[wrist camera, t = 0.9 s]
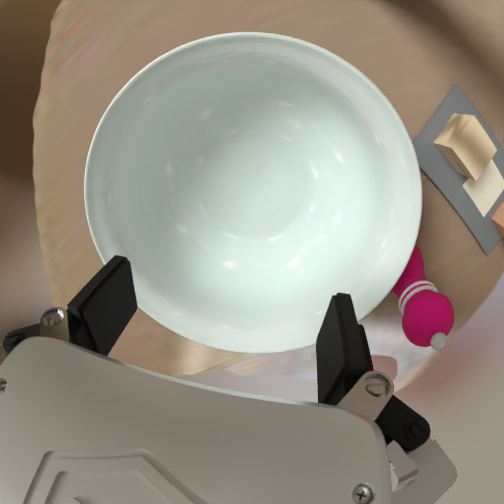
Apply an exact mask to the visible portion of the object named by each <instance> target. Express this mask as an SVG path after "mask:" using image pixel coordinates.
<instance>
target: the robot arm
mask: <svg viewBox="0 0 504 504" xmlns="http://www.w3.org/2000/svg"><path fill="white" fill-rule="evenodd" d="M67 306H68V309H67V310H65V309H64V308H62V307H52V308H50V309H48V310H46V311H45V312H44V313H43V314H42V316H41V318H40V323H39V324H35V325H31V326H28V327H25V328H21V329H18V330H14V331H12V332H10V333H9V334H8V335H7V336H6V337H5V339H4V341H3V345H1V344H0V504H434V503H435V502H436V501H437V500H438V499H439V498H440V497H441V496H442V495H443V494H444V493H445V492H446V491H447V490H448V489H449V488H450V487H451V486H452V485H453V484H454V482H455V481H456V478H457V470H456V468H455V466H454V465H453V463H452V462H451V460H450V459H449V458H448V456H447V455H446V454H445V452H444V451H443V450H442V448H441V447H440V445H439V444H438V443H437V441H436V440H435V439H434V440H433V441H432V440H431V438H430V437H429V436H430V426H429V424H428V422H427V421H426V420H425V419H424V418H423V417H421V416H420V415H419V414H418V413H416V412H415V411H414V410H412V409H411V408H410V407H408V406H407V405H406V404H405V403H403V402H402V401H401V400H399V399H398V398H397V397H395V396H394V395H393V392H394V385H393V382H392V380H391V379H390V377H388V376H387V375H386V374H384V373H382V372H380V371H374V369H373V364H372V360H371V355H370V351H369V346H368V342H367V338H366V334H365V330H364V327H363V325H361V324H358V322H357V318H356V314H355V310H354V306H353V302H352V298H351V295H350V294H347V293H339V292H338V293H337V294H336V295H332V297H331V300H330V303H329V306H328V309H327V312H326V314H325V317H324V320H323V323H322V325H321V328H320V331H319V333H318V336H317V339H316V354H317V381H318V403H314V402H307V401H297V400H289V399H281V398H274V397H268V396H260V395H254V394H248V393H241V392H236V391H231V390H225V389H220V388H215V387H211V386H207V385H201V384H198V383H193V382H189V381H185V380H181V379H177V378H174V377H170V376H166V375H163V374H159V373H156V372H152V371H149V370H146V369H142V368H139V367H136V366H133V365H130V364H127V363H124V362H121V361H118V360H115V359H112V358H110V357H107V356H108V354H109V352H110V351H111V349H112V347H113V346H114V344H115V343H116V341H117V339H118V338H119V336H120V335H121V333H122V332H123V330H124V329H125V327H126V325H127V324H128V322H129V321H130V319H131V318H132V316H133V315H134V313H135V312H136V310H137V299H136V294H135V288H134V282H133V276H132V269H131V263H130V261H129V260H128V259H127V257H124V256H119V255H115V256H114V257H113V258H111V259H110V260H109V261H108V262H107V263H106V264H105V266H104V267H103V268H102V269H101V270H100V271H99V272H98V273H97V274H96V275H95V276H94V277H93V278H92V279H91V280H90V281H89V282H88V283H87V284H86V285H85V286H84V287H83V288H82V289H81V291H80V292H79V293H78V294H77V295H76V296H75V297H74V298H73V299H72V300H71V302H70V303H69V304H68V305H67ZM390 463H392V465H393V466H394V467H395V469H394V472H395V473H396V475H397V477H398V485H397V487H396V489H395V490H394V491H393V492H392V488H391V487H392V486H391V471H390ZM356 486H357V487H356Z"/></svg>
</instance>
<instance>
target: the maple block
mask: <svg viewBox="0 0 504 504" xmlns="http://www.w3.org/2000/svg"><path fill="white" fill-rule="evenodd" d="M433 143H434V144H435V145H436V146H437V148H438V149H439V150H440V151H441V152H442V154H443V155H444V156H445V157H446V158H447V160H448V161H449V162H450V163H451V165H452V166H453V167H454V169H455V170H456V171H457V172H458V173H460V174H462V175H464V176H466V177H468V178H470V179H472V180H474V181H477V179H478V178H479V177H480V175H481V174H482V172H483V171H484V169H485V168H486V166H487V165H488V163H489V162H490V160H491V159H492V157H493V156H494V154H495V153H496V151H497V149H496V147H495V146H494V144H493V143H492V141H491V139H490V138H489V136H488V135H487V133H486V132H485V130H484V129H483V127H482V126H481V124H480V123H479V122H478V120H477V119H476V117H475V116H474V115H466V114H457V113H454V114H453V115H452V117H451V118H450V120H449V121H448V123H447V124H446V125H445V127H444V128H443V130H442V131H441V132H440V134H439V135H438V136H437V138H436V139H435V140H434V142H433Z"/></svg>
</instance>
